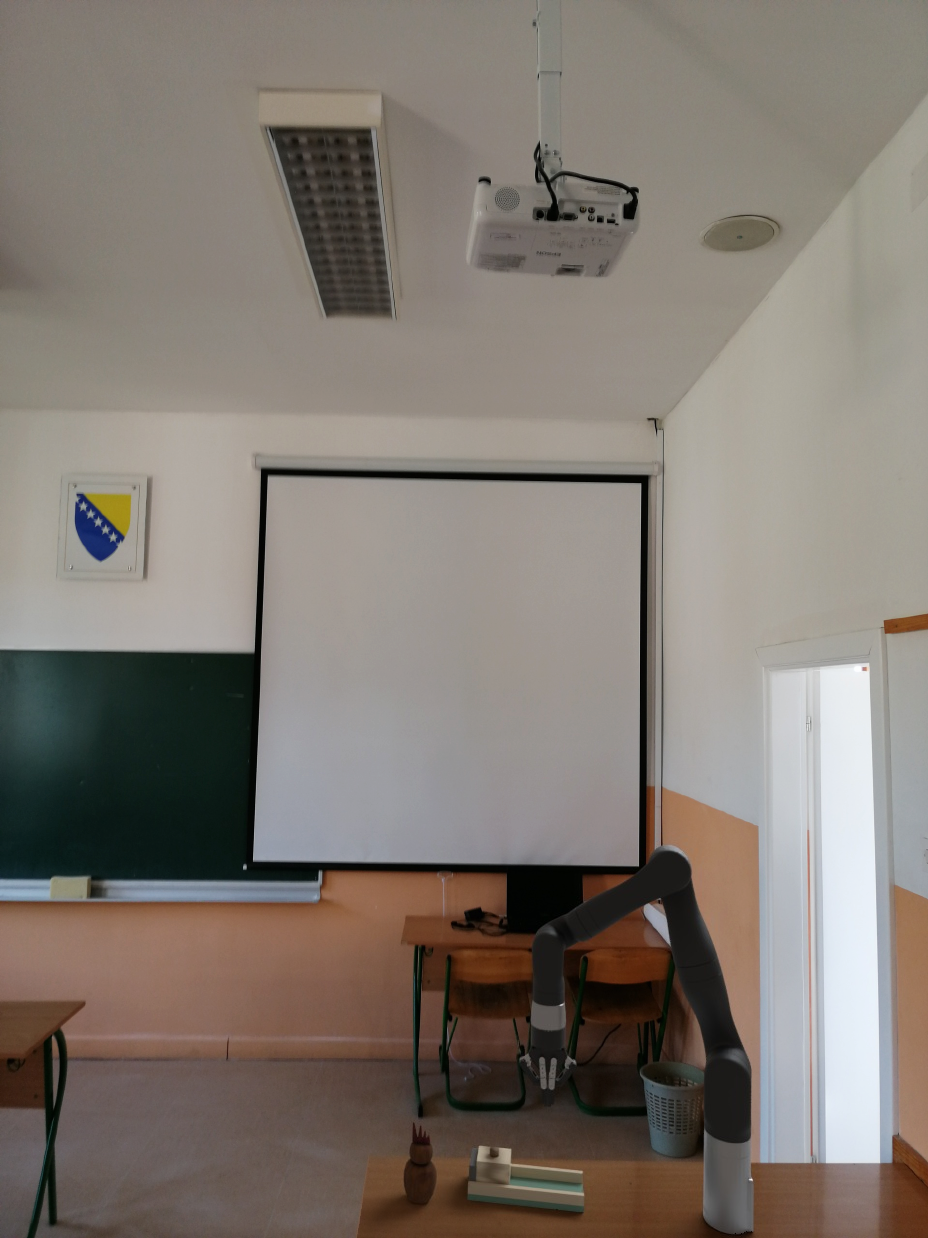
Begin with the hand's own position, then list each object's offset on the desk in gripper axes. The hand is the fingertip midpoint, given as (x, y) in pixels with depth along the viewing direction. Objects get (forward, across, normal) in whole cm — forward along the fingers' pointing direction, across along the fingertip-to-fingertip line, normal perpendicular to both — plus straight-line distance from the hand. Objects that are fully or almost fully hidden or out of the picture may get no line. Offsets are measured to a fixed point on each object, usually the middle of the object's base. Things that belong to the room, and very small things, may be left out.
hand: (547, 1105), depth 178 cm
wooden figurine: (+17, +26, +8) cm, 32 cm away
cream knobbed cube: (+15, +11, +3) cm, 19 cm away
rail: (+17, +4, +3) cm, 17 cm away
